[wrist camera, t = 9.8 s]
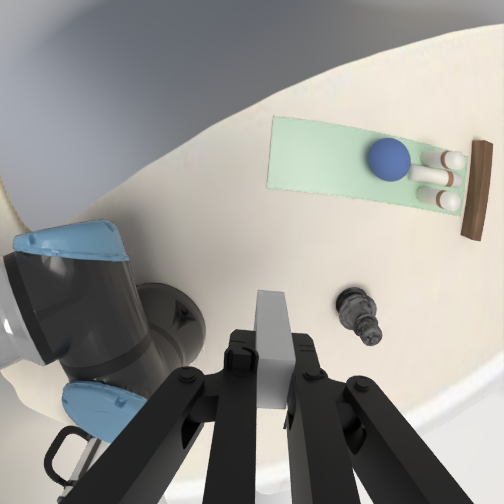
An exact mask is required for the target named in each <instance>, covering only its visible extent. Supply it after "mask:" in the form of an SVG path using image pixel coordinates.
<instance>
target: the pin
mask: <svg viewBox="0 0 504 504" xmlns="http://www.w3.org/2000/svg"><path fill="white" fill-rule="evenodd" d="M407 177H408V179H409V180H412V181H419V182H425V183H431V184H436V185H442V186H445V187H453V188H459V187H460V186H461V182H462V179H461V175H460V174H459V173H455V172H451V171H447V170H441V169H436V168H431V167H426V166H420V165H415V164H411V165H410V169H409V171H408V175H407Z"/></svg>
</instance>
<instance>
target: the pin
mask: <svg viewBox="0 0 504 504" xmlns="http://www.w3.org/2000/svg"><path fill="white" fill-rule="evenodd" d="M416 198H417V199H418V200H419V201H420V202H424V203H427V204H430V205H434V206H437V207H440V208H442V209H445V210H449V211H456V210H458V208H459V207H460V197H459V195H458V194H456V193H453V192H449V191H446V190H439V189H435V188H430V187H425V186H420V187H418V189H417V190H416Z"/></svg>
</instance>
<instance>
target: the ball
mask: <svg viewBox="0 0 504 504" xmlns="http://www.w3.org/2000/svg"><path fill="white" fill-rule="evenodd" d="M368 163H369V166H370V169H371V170H372V172H373V173H374V174H375V175H376V176H377V177H378V178H380V179H381V180H384V181H388V182H394V181H398V180H400V179H402V178H403V177H404V176H405V175H406V174H407V173H408V171H409V169H410V165H411V157H410V154H409V151H408V149H407V148H406V146H405V145H404V144H403V143H402V142H400V141H399V140H396V139H393V138H383V139H380V140H378V141H376V142H375V143H374V144H373V145H372V146H371V148H370V150H369V154H368Z"/></svg>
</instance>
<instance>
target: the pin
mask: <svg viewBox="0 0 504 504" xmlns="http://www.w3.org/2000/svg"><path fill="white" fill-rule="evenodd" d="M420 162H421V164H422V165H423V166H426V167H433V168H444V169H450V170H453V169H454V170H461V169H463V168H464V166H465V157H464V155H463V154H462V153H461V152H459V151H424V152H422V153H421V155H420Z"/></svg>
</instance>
